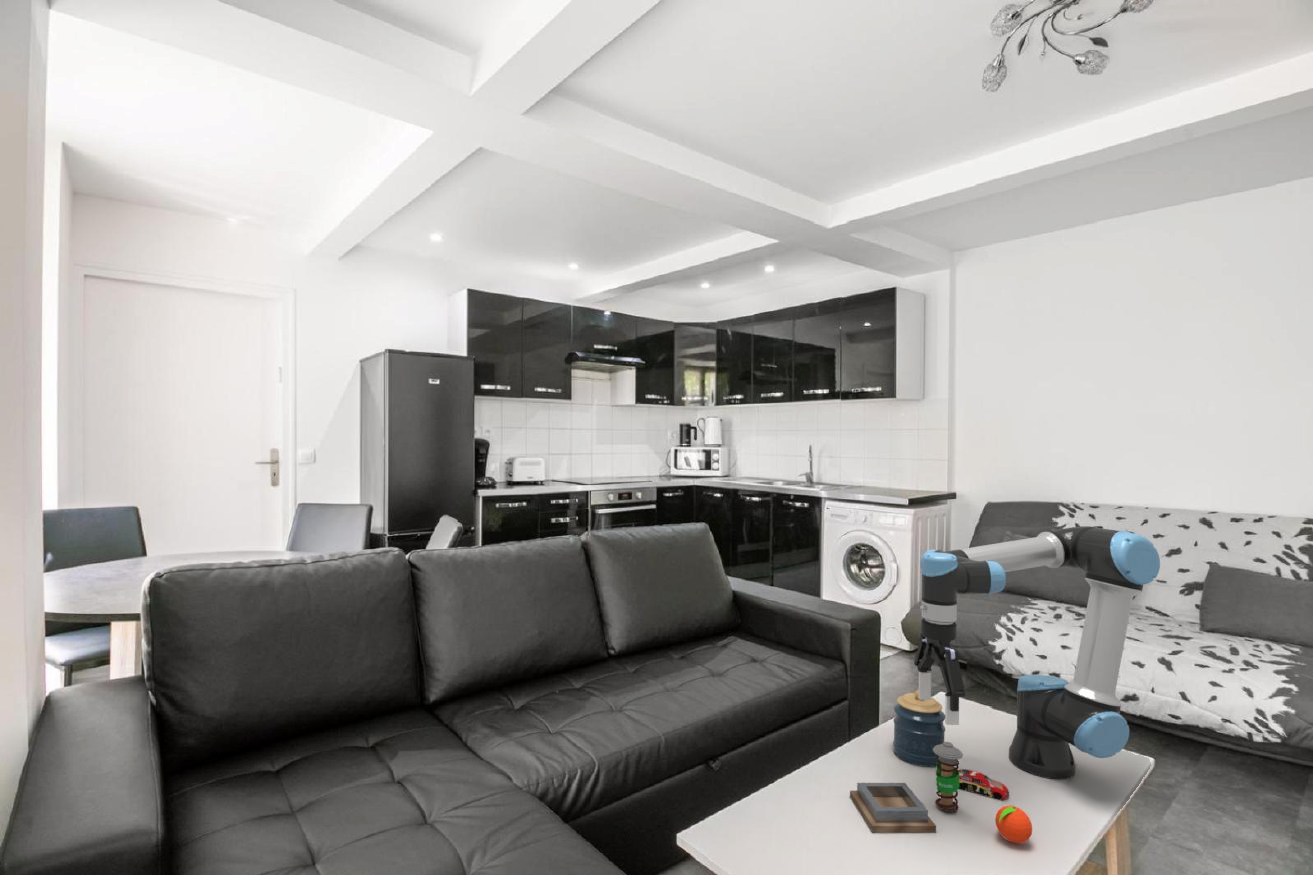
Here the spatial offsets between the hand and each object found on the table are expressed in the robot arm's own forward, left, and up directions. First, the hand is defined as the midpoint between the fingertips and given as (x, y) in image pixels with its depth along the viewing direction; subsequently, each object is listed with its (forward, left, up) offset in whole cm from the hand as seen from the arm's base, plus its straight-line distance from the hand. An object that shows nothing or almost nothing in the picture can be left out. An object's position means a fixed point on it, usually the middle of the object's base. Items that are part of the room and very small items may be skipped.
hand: (937, 711), depth 149 cm
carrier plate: (+12, +3, -22) cm, 25 cm away
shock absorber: (-2, +1, -22) cm, 22 cm away
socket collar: (+12, +3, -21) cm, 24 cm away
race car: (-14, -7, -23) cm, 27 cm away
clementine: (-10, +13, -22) cm, 28 cm away
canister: (-7, -24, -22) cm, 33 cm away
